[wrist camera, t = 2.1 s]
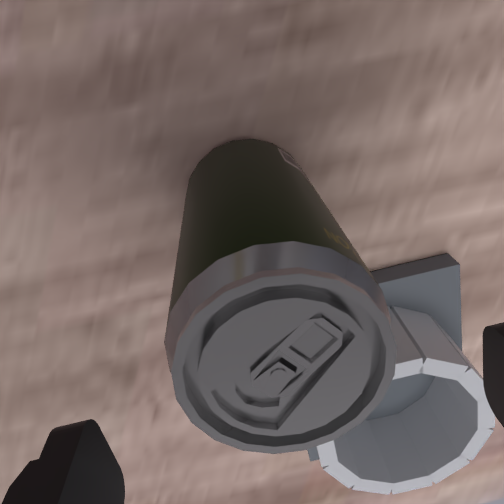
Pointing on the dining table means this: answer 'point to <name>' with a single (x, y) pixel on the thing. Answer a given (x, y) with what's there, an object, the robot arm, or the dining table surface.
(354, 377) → the beer can
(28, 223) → the dining table surface
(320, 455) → the flanged pipe fitting
